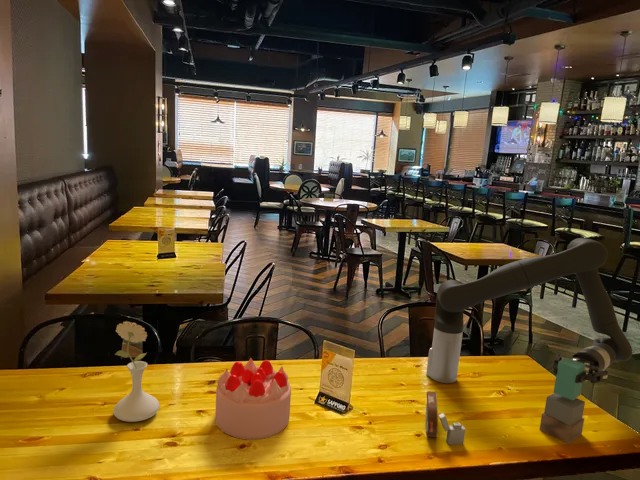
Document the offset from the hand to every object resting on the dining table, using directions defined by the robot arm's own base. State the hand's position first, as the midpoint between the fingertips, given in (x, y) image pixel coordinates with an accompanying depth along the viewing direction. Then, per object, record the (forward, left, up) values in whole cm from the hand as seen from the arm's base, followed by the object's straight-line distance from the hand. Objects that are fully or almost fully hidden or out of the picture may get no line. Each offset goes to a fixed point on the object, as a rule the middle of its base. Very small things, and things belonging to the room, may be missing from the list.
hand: (566, 375), depth 123 cm
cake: (-63, -54, -18) cm, 85 cm away
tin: (-27, -22, -18) cm, 39 cm away
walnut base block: (0, +3, -18) cm, 18 cm away
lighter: (-20, -25, -18) cm, 37 cm away
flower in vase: (-86, -75, -18) cm, 115 cm away
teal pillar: (0, +3, -6) cm, 7 cm away
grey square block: (0, +3, -13) cm, 13 cm away
